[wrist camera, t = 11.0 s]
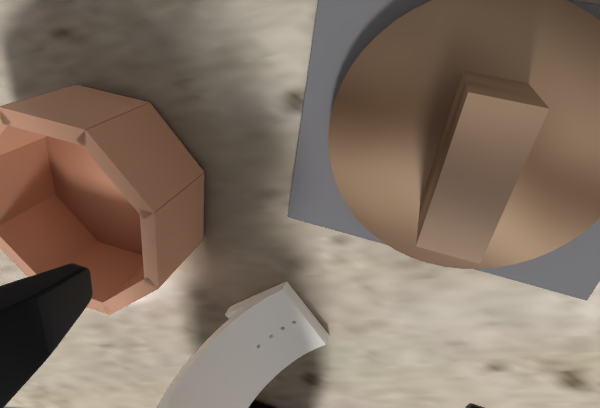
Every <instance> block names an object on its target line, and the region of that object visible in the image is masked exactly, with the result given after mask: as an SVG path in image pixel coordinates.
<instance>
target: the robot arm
mask: <svg viewBox="0 0 600 408" xmlns="http://www.w3.org/2000/svg"><path fill="white" fill-rule="evenodd" d="M92 295H93V290H92V281H91V273H90V270H89V269H88V268H87V267H84V266H82V265H79V264H76V263H70V264H67V265H64V266H61V267H57V268H54V269H51V270H48V271H45V272H42V273H39V274H36V275H33V276H30V277H27V278H24V279H21V280H17V281H14V282H11V283H8V284H5V285H2V286H0V408H3V407H4V406H5V405H6V404H7V403H8V402H9V401H10V400H11V399H12V397H13V396H14V395H15V394H16V393H17V392H18V391H19V390H20V389H21V387H22V386H23V385H24V384H25V383H26V382H27V381H28V380H29V379H30V377H31V376H32V375H33V374H34V373H35V372H36V371H37V370H38V369H39V367H40V366H41V365H42V364H43V363H44V362H45V361H46V359H47V358H48V357H49V356H50V355H51V353H52V352H53V351H54V350H55V348H56V347H57V346H58V344H59V343H60V342H61V340H62V339H63V338H64V336H65V335H66V334H67V332H68V331H69V330H70V328H71V327H72V326H73V324H74V323H75V322H76V320H77V319H78V317H79V316H80V315H81V313H82V312H83V311H84V309H85V308H86V307H87V305H88V304H89V302H90V301H91V298H92ZM248 408H271V407H268V406H265V405H263V404H260V403H257V402H254V401H253V402H252V403H251V405H250V406H249V407H248ZM466 408H484V407H481V406H478V405H475V404H472V403H470V404H468V405H467V406H466Z"/></svg>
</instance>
